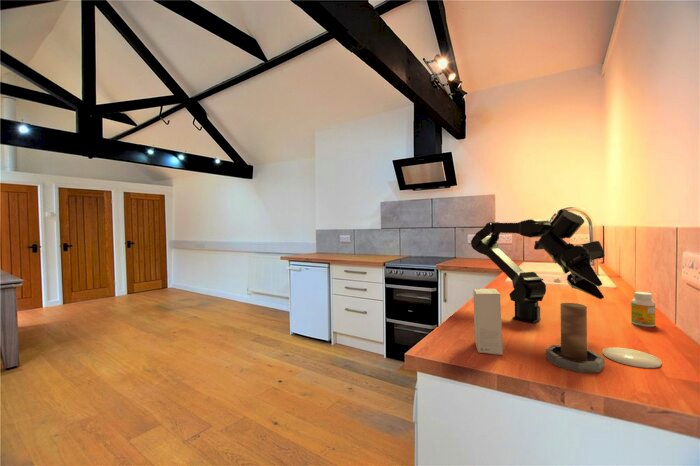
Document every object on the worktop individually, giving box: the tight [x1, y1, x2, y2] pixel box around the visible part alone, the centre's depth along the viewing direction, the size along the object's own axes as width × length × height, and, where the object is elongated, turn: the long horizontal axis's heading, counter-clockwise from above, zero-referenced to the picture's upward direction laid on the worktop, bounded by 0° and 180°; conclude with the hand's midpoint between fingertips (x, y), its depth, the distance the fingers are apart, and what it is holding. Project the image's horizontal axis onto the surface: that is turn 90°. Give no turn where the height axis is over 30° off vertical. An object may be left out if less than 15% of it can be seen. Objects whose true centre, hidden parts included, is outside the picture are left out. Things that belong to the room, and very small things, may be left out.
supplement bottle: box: [630, 291, 656, 328], centre depth 96 cm, size 5×5×10 cm
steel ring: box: [545, 344, 605, 374], centre depth 70 cm, size 10×10×2 cm
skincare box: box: [472, 288, 504, 356], centre depth 79 cm, size 8×6×15 cm
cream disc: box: [602, 346, 662, 369], centre depth 72 cm, size 10×10×1 cm
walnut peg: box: [560, 302, 588, 361], centre depth 70 cm, size 5×5×13 cm
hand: (601, 292), depth 80 cm, fingers open, 9 cm apart
